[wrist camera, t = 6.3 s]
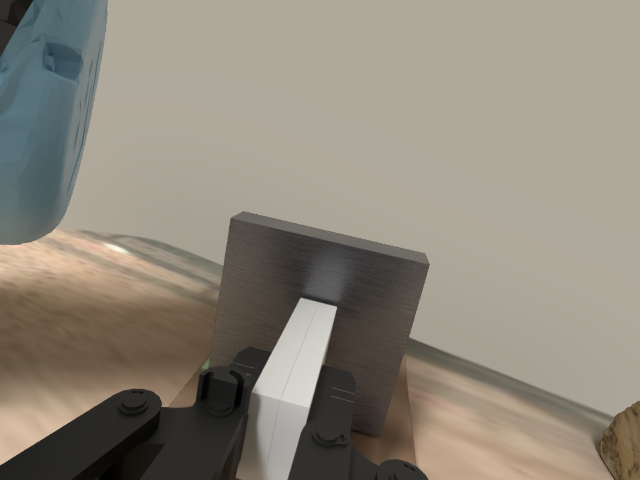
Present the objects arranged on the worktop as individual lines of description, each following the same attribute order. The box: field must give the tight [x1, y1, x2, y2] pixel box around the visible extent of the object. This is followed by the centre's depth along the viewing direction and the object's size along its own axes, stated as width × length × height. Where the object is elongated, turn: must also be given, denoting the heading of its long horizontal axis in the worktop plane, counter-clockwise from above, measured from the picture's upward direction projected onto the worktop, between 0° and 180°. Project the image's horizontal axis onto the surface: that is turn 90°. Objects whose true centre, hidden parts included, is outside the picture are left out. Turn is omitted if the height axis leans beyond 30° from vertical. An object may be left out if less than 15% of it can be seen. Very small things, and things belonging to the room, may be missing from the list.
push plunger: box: [208, 211, 430, 437], centre depth 22 cm, size 8×8×12 cm
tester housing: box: [169, 355, 416, 480], centre depth 25 cm, size 24×14×8 cm, turn 172°
